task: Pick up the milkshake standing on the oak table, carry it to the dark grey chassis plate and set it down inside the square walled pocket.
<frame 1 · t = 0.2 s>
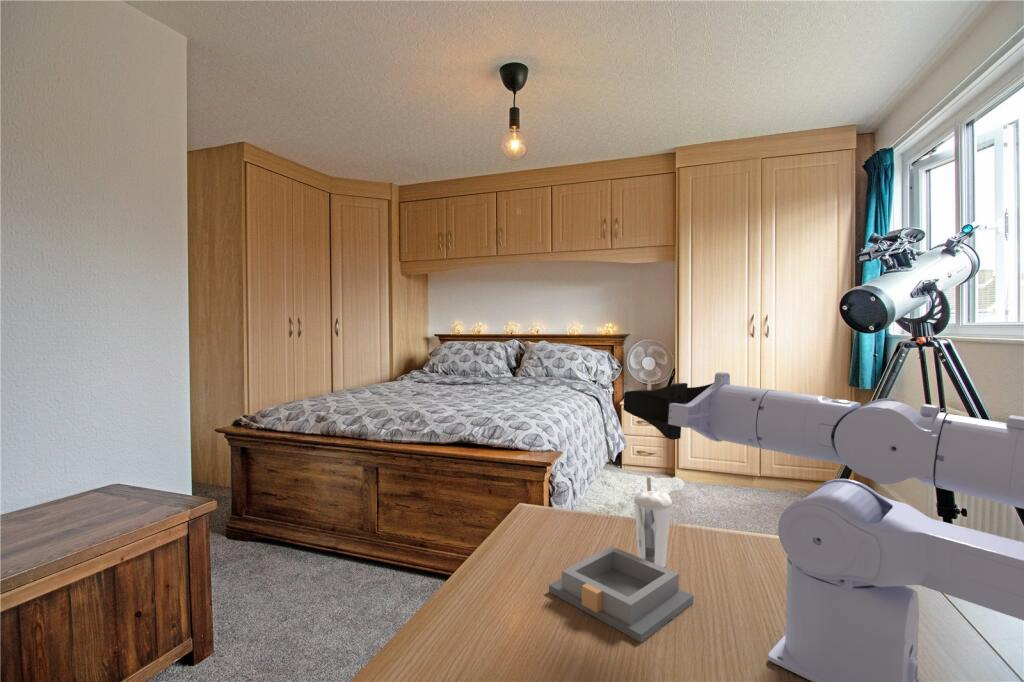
hand: (645, 399, 58), 21 cm above the table, tool horizontal, fingers open, 7 cm apart
chassis: (619, 597, 55), on the table
milkshake: (651, 564, 63), on the table
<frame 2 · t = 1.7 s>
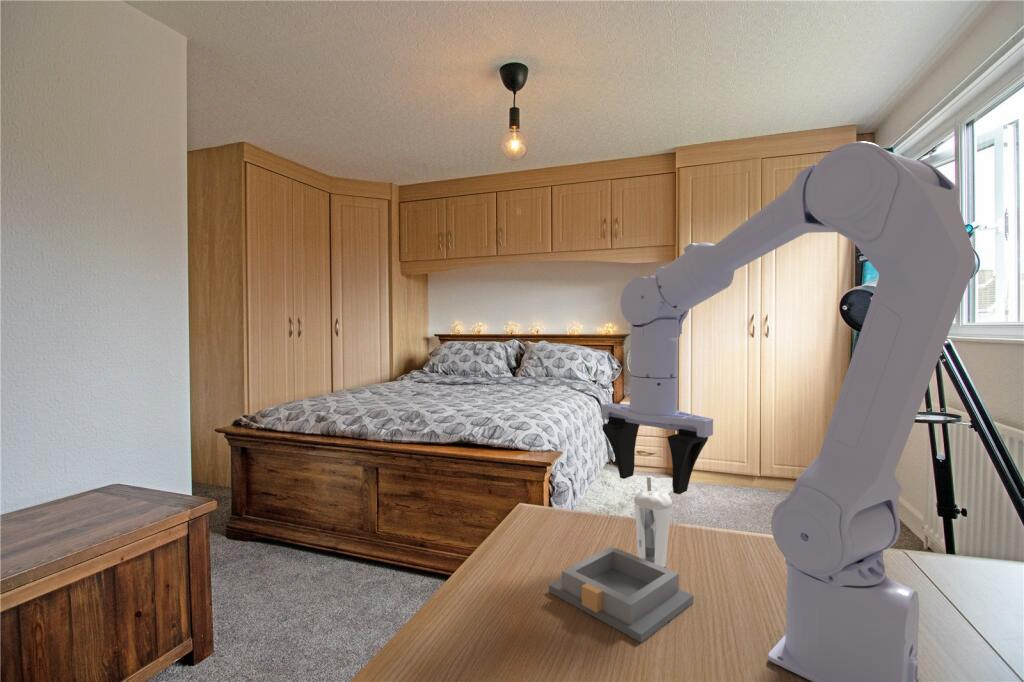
hand: (652, 484, 62), 10 cm above the table, tool pointing down, fingers open, 7 cm apart
nothing on the table moved.
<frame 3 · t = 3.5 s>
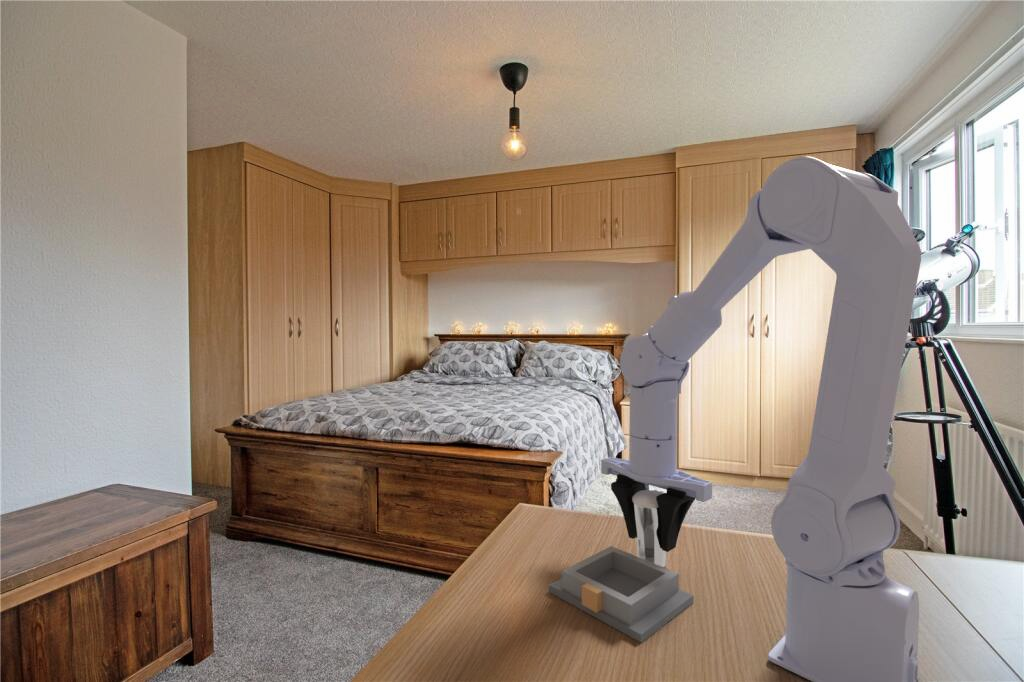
hand: (651, 542, 63), 3 cm above the table, tool pointing down, fingers closed on milkshake, 4 cm apart
milkshake: (651, 563, 63), on the table, touching gripper
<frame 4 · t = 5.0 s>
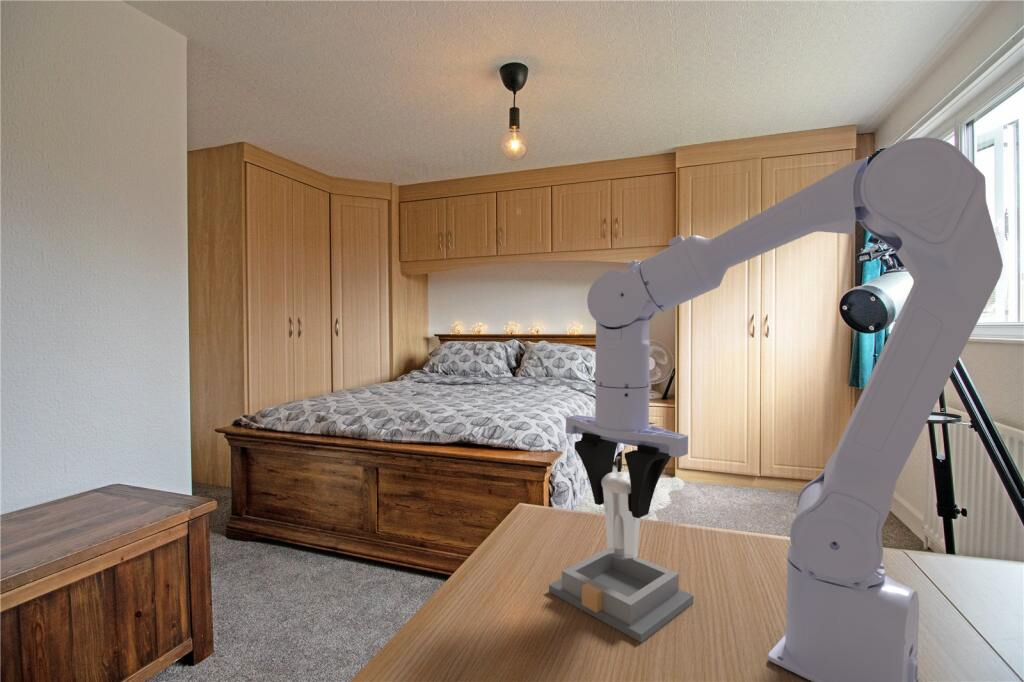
hand: (621, 508, 55), 10 cm above the table, tool pointing down, fingers closed on milkshake, 4 cm apart
milkshake: (621, 552, 56), point 4 cm above the table, touching gripper
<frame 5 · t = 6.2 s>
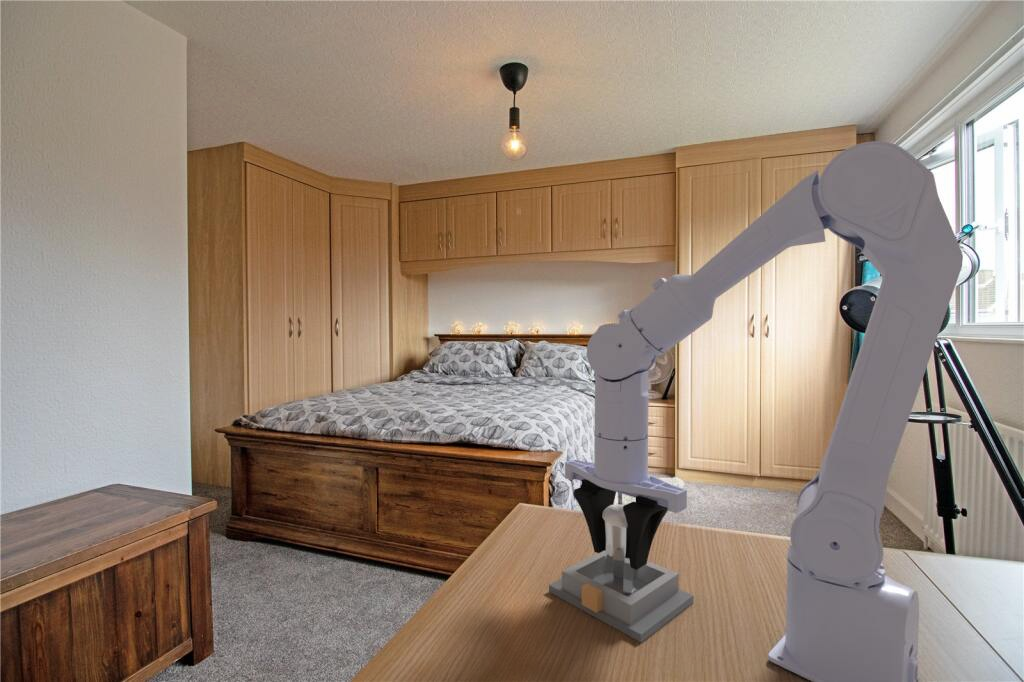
hand: (619, 557, 55), 4 cm above the table, tool pointing down, fingers closed on milkshake, 4 cm apart
milkshake: (620, 585, 56), point 1 cm above the table, touching chassis, gripper
when the fingers open (4 cm above the table, at t = 6.9 s): milkshake stays where it is, resting on chassis.
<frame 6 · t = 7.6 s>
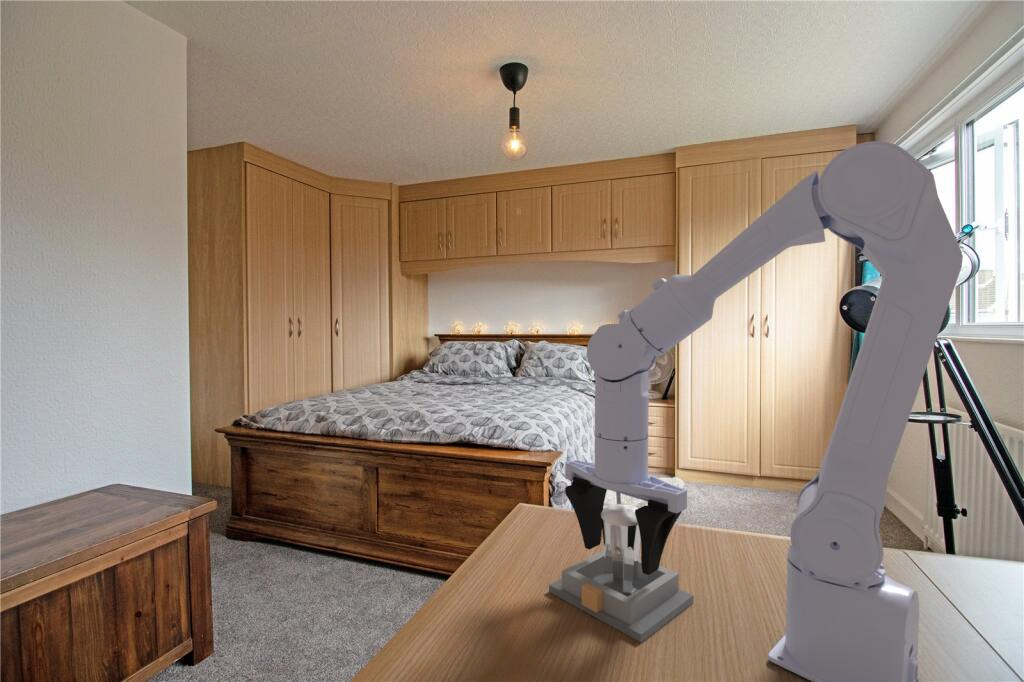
hand: (620, 557, 55), 4 cm above the table, tool pointing down, fingers open, 7 cm apart
milkshake: (620, 586, 56), point 1 cm above the table, touching chassis
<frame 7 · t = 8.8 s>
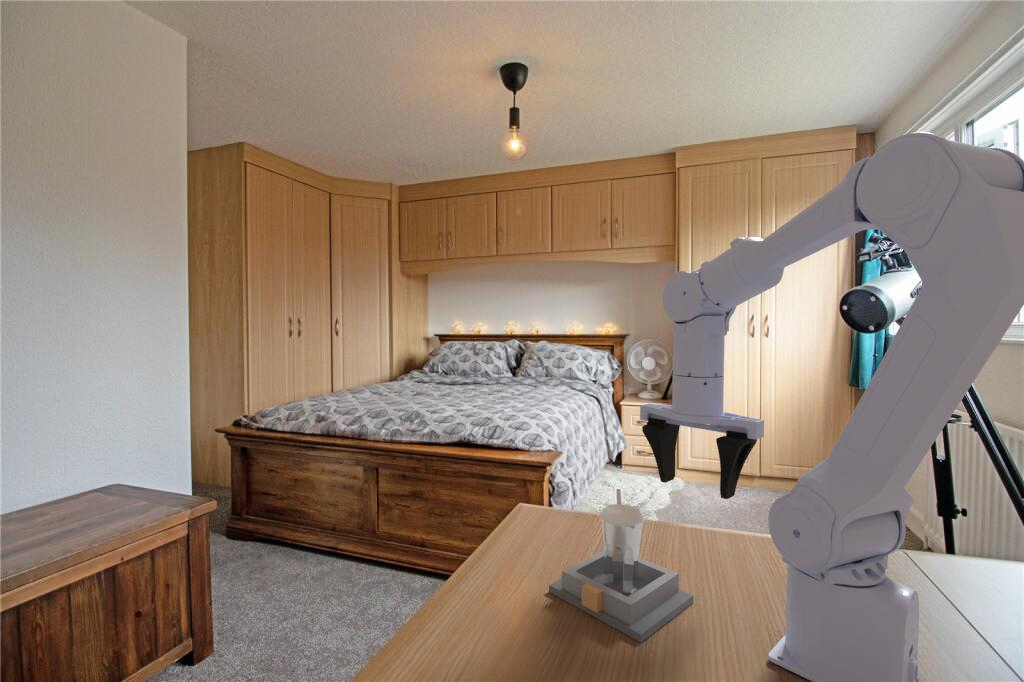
hand: (696, 488, 60), 10 cm above the table, tool pointing down, fingers open, 7 cm apart
nothing on the table moved.
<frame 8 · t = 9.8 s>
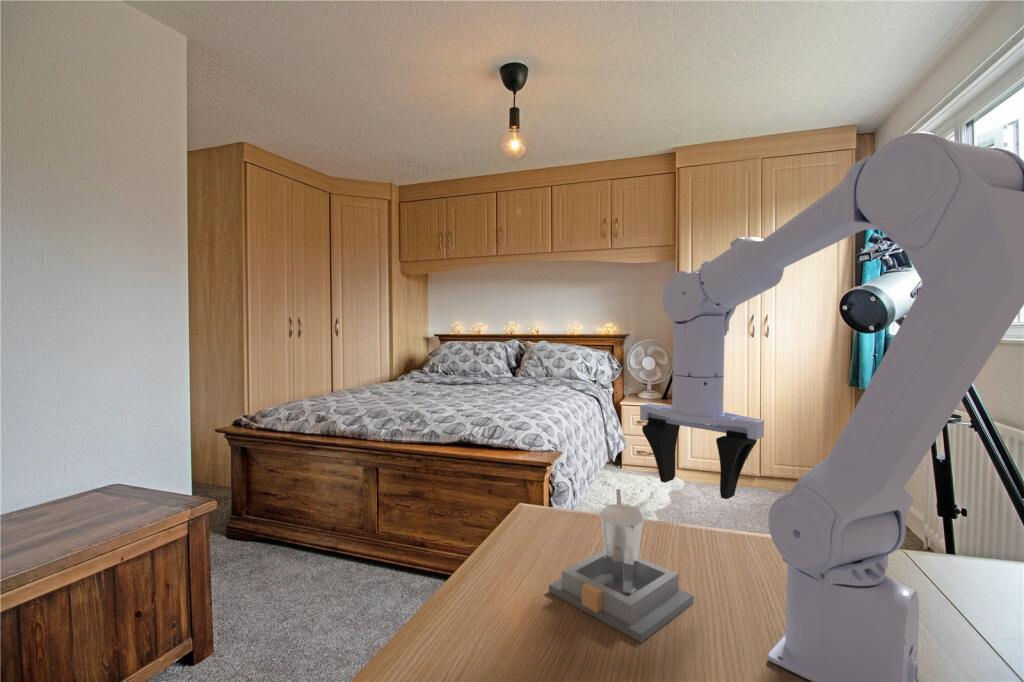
hand: (696, 488, 60), 10 cm above the table, tool pointing down, fingers open, 7 cm apart
nothing on the table moved.
at the end: milkshake 1.1 cm off-centre on the chassis, point 0.6 cm above the chassis's base; milkshake tilted 0°; the gripper is holding nothing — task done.
